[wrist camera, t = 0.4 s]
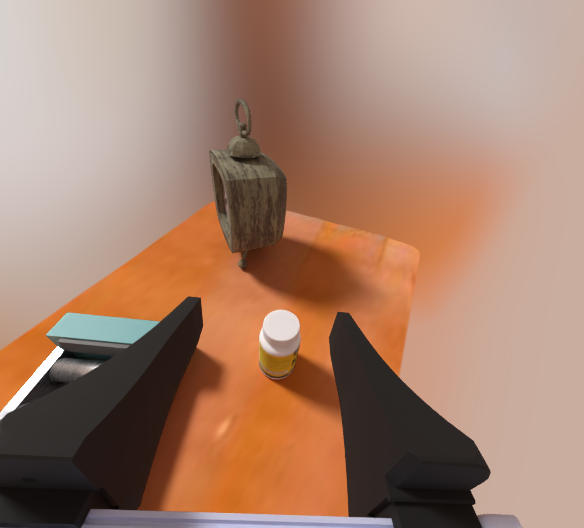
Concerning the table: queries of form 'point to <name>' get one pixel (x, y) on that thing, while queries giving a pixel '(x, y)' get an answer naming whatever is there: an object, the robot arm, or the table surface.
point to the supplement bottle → (279, 344)
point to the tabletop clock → (248, 192)
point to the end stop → (97, 334)
